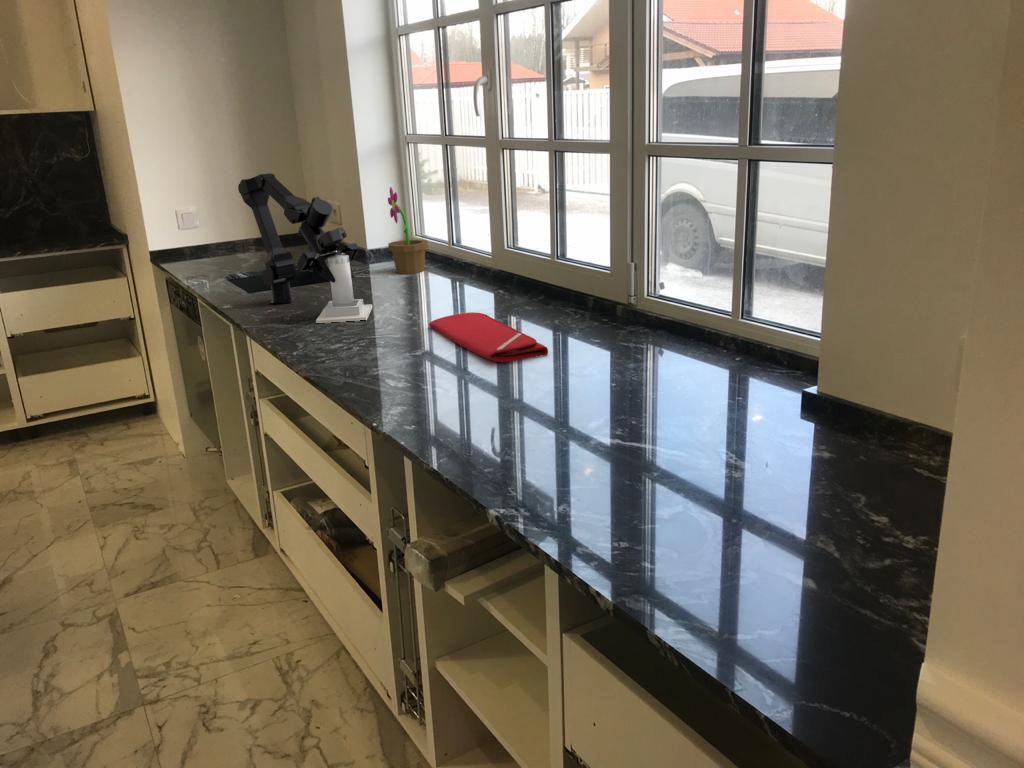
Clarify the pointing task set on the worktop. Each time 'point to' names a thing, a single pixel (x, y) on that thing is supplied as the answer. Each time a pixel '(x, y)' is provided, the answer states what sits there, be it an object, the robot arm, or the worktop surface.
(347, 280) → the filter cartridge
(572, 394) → the worktop surface
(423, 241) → the flowerpot
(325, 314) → the white square stand
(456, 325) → the folded red towel
